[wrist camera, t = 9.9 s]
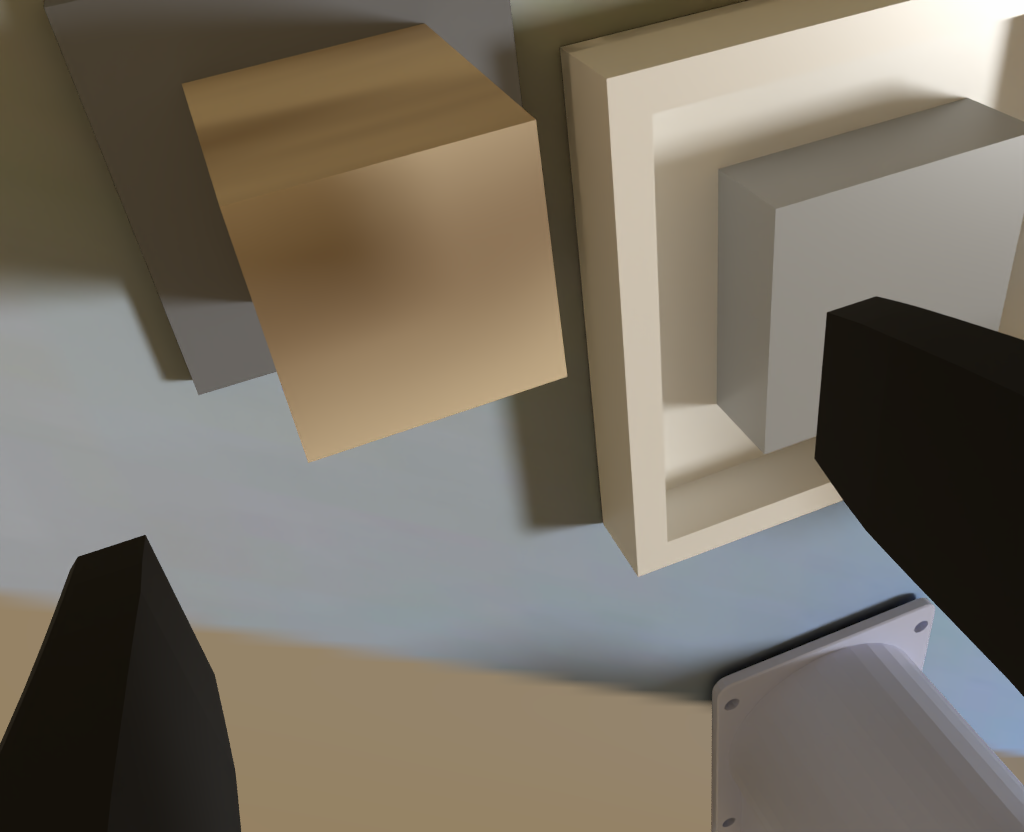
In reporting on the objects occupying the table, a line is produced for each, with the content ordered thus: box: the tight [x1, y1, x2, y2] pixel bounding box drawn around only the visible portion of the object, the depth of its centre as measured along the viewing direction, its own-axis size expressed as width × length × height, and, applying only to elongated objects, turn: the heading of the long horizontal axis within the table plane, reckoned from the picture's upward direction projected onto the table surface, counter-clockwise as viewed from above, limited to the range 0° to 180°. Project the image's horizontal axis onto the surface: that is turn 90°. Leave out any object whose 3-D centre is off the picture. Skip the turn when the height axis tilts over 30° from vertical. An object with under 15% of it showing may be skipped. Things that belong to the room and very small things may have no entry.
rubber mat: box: [44, 0, 523, 395], centre depth 17 cm, size 7×7×1 cm
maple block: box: [182, 23, 567, 463], centre depth 15 cm, size 4×4×5 cm
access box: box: [560, 0, 1024, 577], centre depth 22 cm, size 12×12×2 cm
